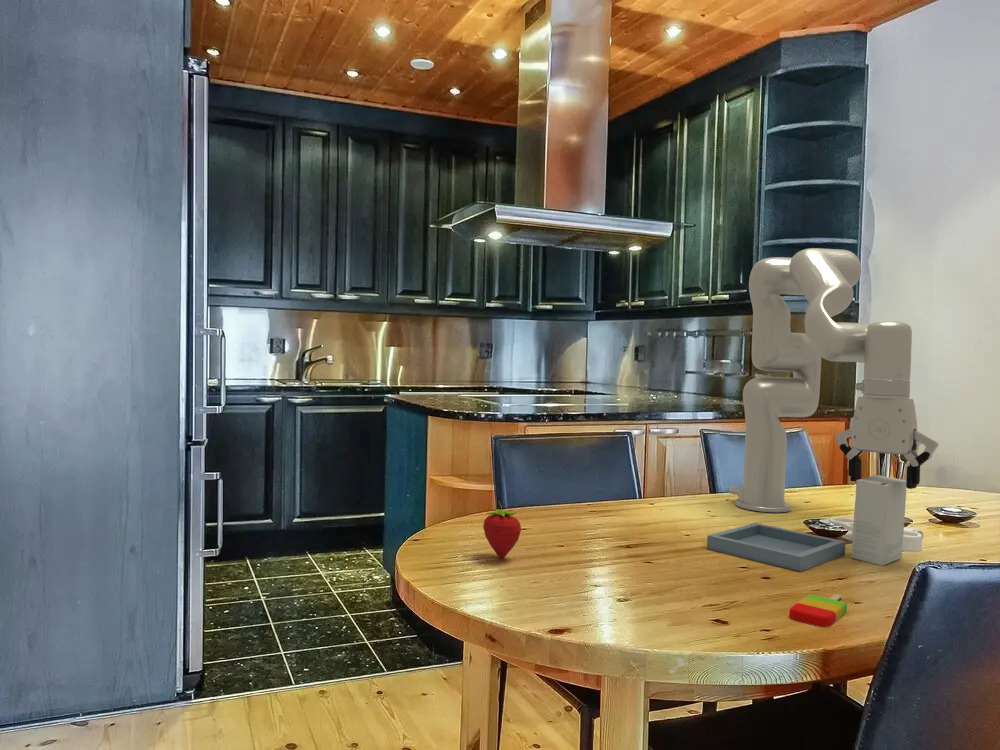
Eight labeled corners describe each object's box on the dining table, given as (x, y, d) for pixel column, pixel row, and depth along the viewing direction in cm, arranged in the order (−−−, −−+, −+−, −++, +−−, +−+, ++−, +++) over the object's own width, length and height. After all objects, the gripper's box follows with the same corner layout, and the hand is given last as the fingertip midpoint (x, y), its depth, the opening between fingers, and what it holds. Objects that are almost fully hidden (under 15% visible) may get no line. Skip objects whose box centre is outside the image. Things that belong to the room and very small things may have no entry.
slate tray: (706, 548, 140) (707, 535, 140) (754, 535, 152) (755, 522, 152) (800, 571, 127) (801, 557, 127) (844, 554, 139) (845, 541, 139)
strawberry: (500, 566, 124) (502, 506, 124) (474, 555, 130) (476, 498, 130) (528, 561, 128) (530, 503, 127) (501, 551, 134) (503, 495, 133)
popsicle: (786, 621, 104) (786, 608, 104) (819, 597, 116) (820, 585, 115) (827, 631, 100) (828, 618, 100) (858, 605, 112) (858, 593, 112)
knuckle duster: (939, 547, 150) (905, 557, 141) (851, 528, 164) (815, 536, 155) (940, 530, 149) (906, 539, 141) (852, 513, 164) (816, 520, 155)
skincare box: (870, 552, 142) (875, 474, 141) (904, 559, 137) (908, 479, 137) (849, 558, 137) (854, 477, 136) (883, 566, 132) (888, 483, 131)
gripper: (829, 388, 140) (826, 479, 140) (931, 392, 127) (928, 493, 127) (846, 388, 145) (843, 476, 145) (946, 392, 132) (942, 489, 132)
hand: (882, 484), depth 136 cm, fingers open, 9 cm apart
